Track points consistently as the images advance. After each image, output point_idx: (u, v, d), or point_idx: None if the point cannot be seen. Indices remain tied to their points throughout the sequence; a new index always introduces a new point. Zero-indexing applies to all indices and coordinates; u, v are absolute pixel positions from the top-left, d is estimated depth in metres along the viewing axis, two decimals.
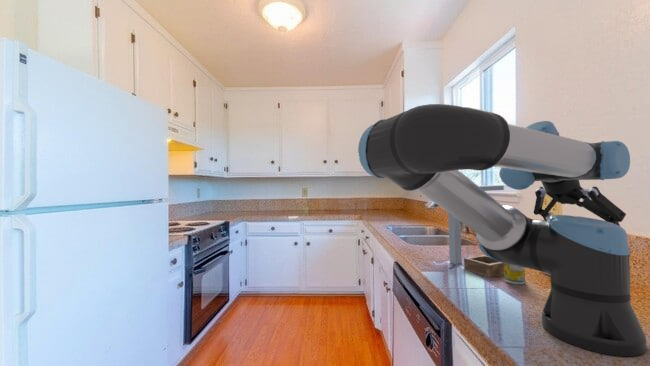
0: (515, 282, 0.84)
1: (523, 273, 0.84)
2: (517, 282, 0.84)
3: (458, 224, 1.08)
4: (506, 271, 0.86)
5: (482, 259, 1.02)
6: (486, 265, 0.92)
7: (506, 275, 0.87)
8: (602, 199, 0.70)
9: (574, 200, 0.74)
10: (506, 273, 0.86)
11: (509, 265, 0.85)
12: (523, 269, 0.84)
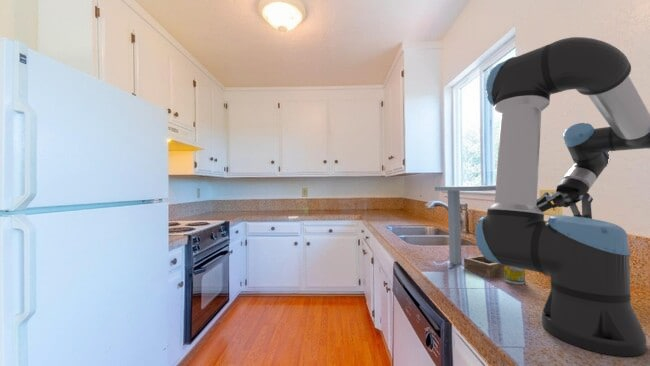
0: (515, 282, 0.84)
1: (523, 273, 0.84)
2: (517, 282, 0.84)
3: (458, 224, 1.08)
4: (506, 271, 0.86)
5: (482, 259, 1.02)
6: (486, 265, 0.92)
7: (506, 275, 0.87)
8: (588, 203, 0.84)
9: (568, 197, 0.89)
10: (506, 273, 0.86)
11: None
12: (523, 269, 0.84)
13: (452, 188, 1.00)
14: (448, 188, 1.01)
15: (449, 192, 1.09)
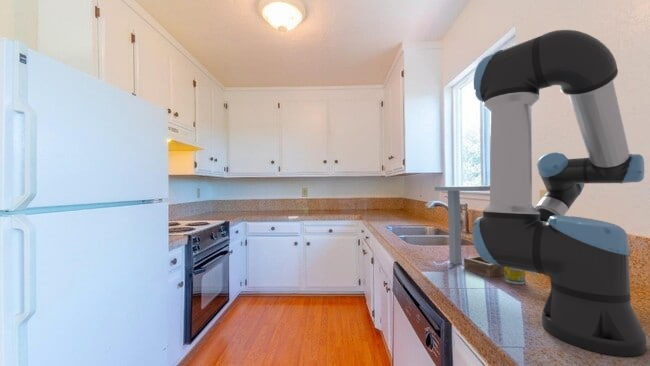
0: (515, 282, 0.84)
1: (523, 273, 0.84)
2: (517, 282, 0.84)
3: (458, 224, 1.08)
4: (506, 271, 0.86)
5: (482, 259, 1.02)
6: (486, 265, 0.92)
7: (506, 275, 0.87)
8: None
9: None
10: (506, 273, 0.86)
11: None
12: None
13: (452, 188, 1.00)
14: (448, 188, 1.01)
15: (449, 192, 1.09)
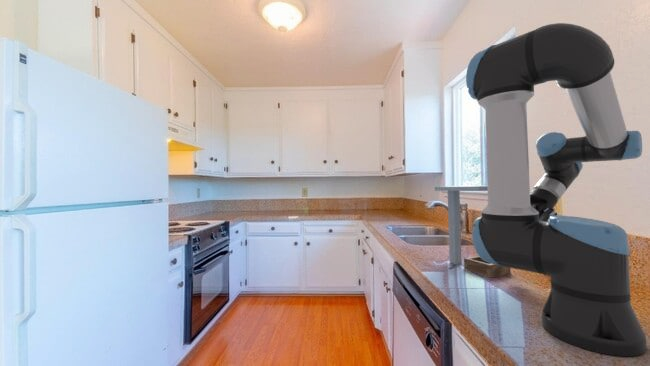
0: None
1: None
2: None
3: (458, 224, 1.08)
4: None
5: None
6: (486, 265, 0.92)
7: None
8: (547, 218, 0.82)
9: (534, 209, 0.86)
10: None
11: None
12: None
13: (452, 188, 1.00)
14: (448, 188, 1.01)
15: (449, 192, 1.09)
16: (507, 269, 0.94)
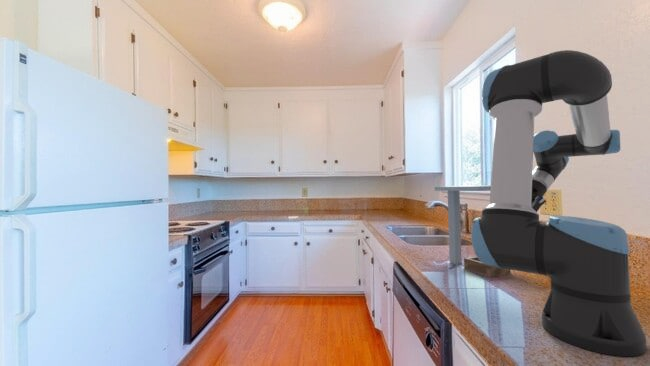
0: None
1: None
2: None
3: (458, 224, 1.08)
4: None
5: None
6: (486, 265, 0.92)
7: None
8: (537, 205, 0.96)
9: None
10: None
11: None
12: None
13: (452, 188, 1.00)
14: (448, 188, 1.01)
15: (449, 192, 1.09)
16: (507, 269, 0.94)
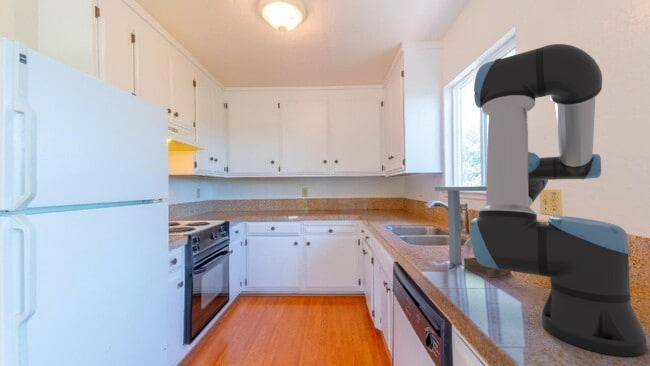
0: None
1: None
2: None
3: (458, 224, 1.08)
4: None
5: None
6: None
7: None
8: None
9: None
10: None
11: None
12: None
13: (452, 188, 1.00)
14: (448, 188, 1.01)
15: (449, 192, 1.09)
16: None
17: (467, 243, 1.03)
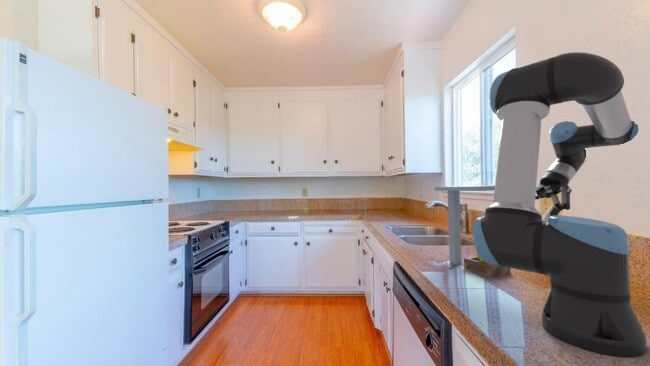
0: None
1: None
2: None
3: (458, 224, 1.08)
4: (479, 259, 0.97)
5: None
6: (486, 265, 0.92)
7: None
8: (567, 193, 0.92)
9: (550, 188, 0.97)
10: None
11: None
12: None
13: (452, 188, 1.00)
14: (448, 188, 1.01)
15: (449, 192, 1.09)
16: (507, 269, 0.94)
17: None
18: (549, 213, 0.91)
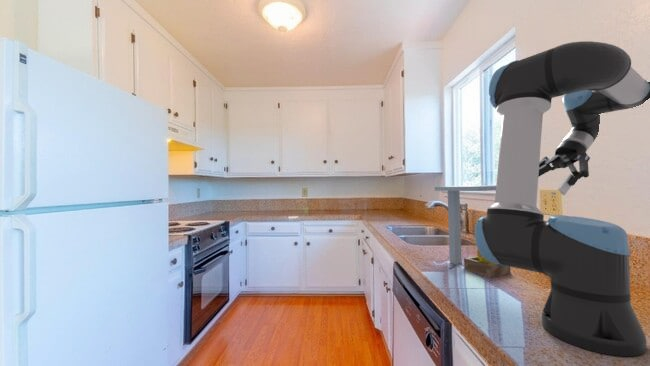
0: None
1: None
2: None
3: (458, 224, 1.08)
4: (479, 259, 0.97)
5: None
6: (486, 265, 0.92)
7: None
8: (585, 161, 0.88)
9: (566, 157, 0.93)
10: None
11: None
12: None
13: (452, 188, 1.00)
14: (448, 188, 1.01)
15: (449, 192, 1.09)
16: (507, 269, 0.94)
17: None
18: (566, 182, 0.86)
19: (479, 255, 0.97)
